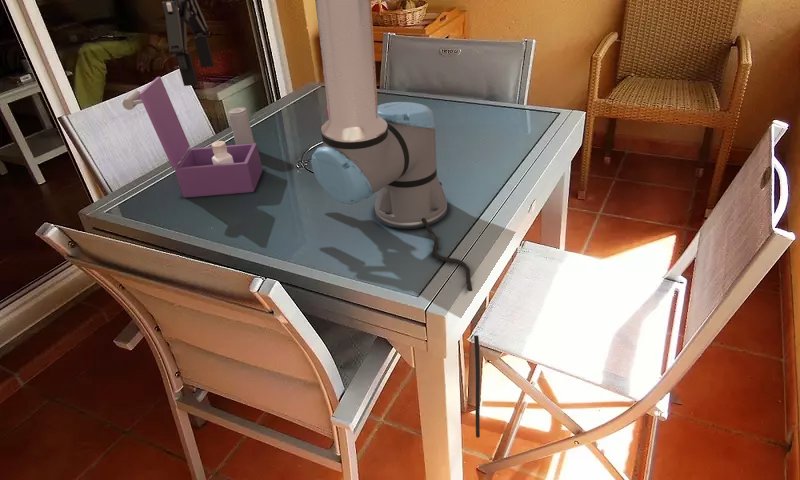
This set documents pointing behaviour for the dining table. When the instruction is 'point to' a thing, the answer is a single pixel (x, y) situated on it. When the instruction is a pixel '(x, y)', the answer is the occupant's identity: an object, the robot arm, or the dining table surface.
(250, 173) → the file box
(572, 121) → the dining table surface
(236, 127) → the beverage can
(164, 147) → the lid
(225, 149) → the salt shaker
